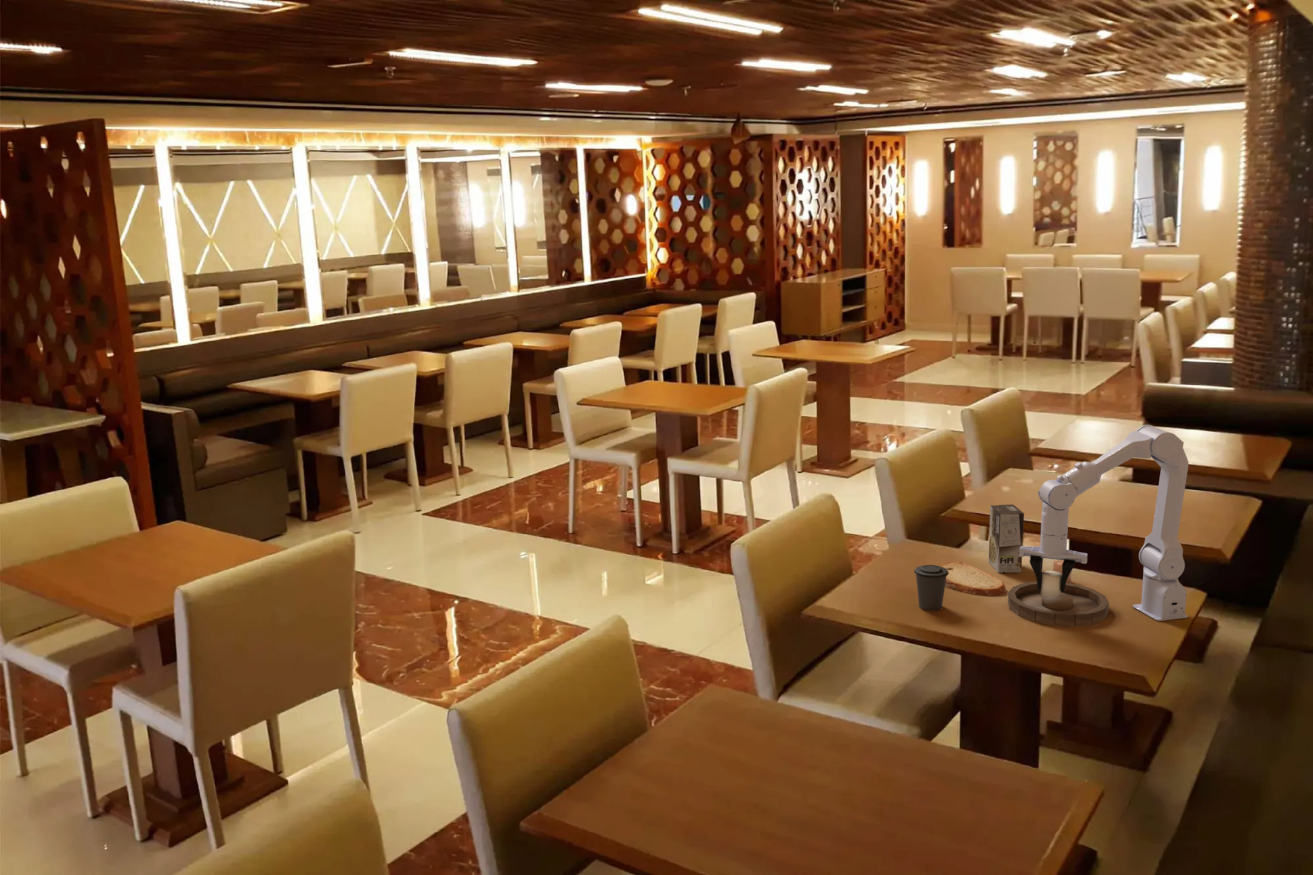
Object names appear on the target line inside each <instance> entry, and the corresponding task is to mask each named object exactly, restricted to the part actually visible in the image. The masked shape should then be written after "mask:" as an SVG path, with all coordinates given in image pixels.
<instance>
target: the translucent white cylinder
mask: <svg viewBox="0 0 1313 875" xmlns="http://www.w3.org/2000/svg"><path fill="white" fill-rule="evenodd" d="M1061 582H1062V574H1061V573H1059V572H1056V571H1053V570H1045V571H1042V582H1041V595H1043V596H1045V597H1049V598H1058V597H1060V596H1061Z"/></svg>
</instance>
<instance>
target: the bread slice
mask: <svg viewBox="0 0 1313 875" xmlns="http://www.w3.org/2000/svg"><path fill="white" fill-rule="evenodd" d="M941 567H944V568H946V569H947V571H948V572H949V574H948V575H947V576H946V583H945V588H949V589H952V590H956V591H959V592H961V593H966V594H971V595H979V596H990V597H991V596H992V597H993V596H1003V595H1002V594H1004V595H1005V593H1006V592H1007V593H1008V590H1007V588H1006V586H1005V585H1006V584H1004V582H1003V581H1002V580H1000V579H999V578H997V576H994V575H993V574H990V573H988V572H986V571H984V570H981V569H979V568H977V567H975V566H971V565H969V564H967V563H964V562H962V561H958V562H957V561H953V562H950V563H948V564H944V565H941ZM1007 593H1006V594H1007Z"/></svg>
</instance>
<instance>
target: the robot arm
mask: <svg viewBox="0 0 1313 875" xmlns="http://www.w3.org/2000/svg"><path fill="white" fill-rule="evenodd" d="M1133 458H1137V459H1152V460H1153V461H1154V462H1155V463H1157V465H1158V466H1159V467H1160V472H1159V473H1160V475H1159V481H1158V487H1157V492H1156V493H1157V496H1156V500H1155V510H1154V515H1153V522H1152V529H1151V533H1150V534H1148V535H1147V536H1146V537H1144V538H1145V539H1144V543H1143V546H1142V547H1141V548H1140V550H1139V552H1138V559H1139V560H1138V561H1139V562H1140V564H1141V565H1143V574H1142V575H1143V577H1142V589H1141V590H1142V591H1141V603H1137V604H1133V605H1132V608H1134V609H1136V610H1137V611H1139V612H1140V613H1143V614H1145V615H1146V616H1148V617H1149V618H1151V619H1153V620H1155V621H1158V622H1161V621H1171V620H1179V619H1187V618H1189V615H1188V614H1186V604H1187V590H1186V588H1185V587H1184V586H1183V585H1182V583H1181V582H1180V581H1179V577H1181V575H1183V572H1184V571H1185V565H1186V563H1185V560H1184V556H1183V554H1184V552H1183V551H1184V549H1183V547H1182V544H1181V542H1180V540H1179V538H1178V536H1179V529H1180V523H1181V517H1182V510H1183V504H1184V497H1185V490H1186V484H1187V477H1188V470H1189V460H1188V457H1187V455H1186V452H1185V450H1184V441H1183V440H1182V439H1180V437H1178V435H1176V434H1174V433H1173V432H1169V431H1166V430H1163V429H1160V428H1158V427H1156V426H1154V425H1151V424H1144V425H1142V426H1140V427H1138V428H1137V429H1135V430H1133V431H1130V432H1129V433H1128V434H1127V436H1126V437H1125V438H1124V439H1123V440H1122V441H1120V442H1119V443H1118V444H1116V445H1115V446H1113V447H1111V448H1110V449H1109V450H1107V451H1106V452H1105V453H1103V454H1102V455H1101V456H1099V457H1098V458H1096V459H1094V460H1093V461H1092V462H1090V461H1083V462H1080V461H1078V462H1076V463H1075V464H1074V467H1073V468H1071V469H1069V470H1068V471H1066V472H1065V473H1064V474H1059V475H1057V476H1056V479H1049V480H1046V481H1045V482H1043V483H1042V485H1041V486H1040V488H1039V490H1038V491H1037V495H1038V497H1039V500H1041V502H1042V503H1041V522H1040V543H1039V544H1040V545H1039V546H1021V547H1020V551H1019V556H1021V557H1022V558H1023V557H1029V564H1030V566H1031V568H1032V570H1033V573H1034V576H1035V578H1036V579H1035V580H1036V582H1037V585H1038V589H1041V582H1042V572H1043V562H1044V559H1050V560H1055V561H1058V560H1063V561H1064V562H1063V564H1062V582H1061V591H1062V592H1064V590H1065V585H1066V581H1067V579H1068V576H1069V574H1070V573H1071V571H1073V569H1074V567H1075V565H1076V563H1081V564H1085V565H1086V564H1087V563H1088V553H1086V552H1080V551H1076V550H1071V549H1067V548H1068V547H1067V546H1068V531H1069V530H1068V527H1069V512H1070V511H1069V510H1070V507H1071V506H1072V505H1073V504H1074V502H1075V499H1076V498H1077V497H1078V496H1080V495H1082V494H1083V493H1085V492H1086V491H1087V490H1089V489H1091V488H1093V487H1094V486H1096V485H1097V484H1099V483H1100V482H1101V479H1102V475H1103V474H1106V473H1107V472H1109V471H1111V470H1113V469H1114V468H1117V467H1119V466H1120V465H1122V464H1124V463H1126V462H1127V461H1130V460H1131V459H1133ZM1071 574H1072V573H1071Z"/></svg>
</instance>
